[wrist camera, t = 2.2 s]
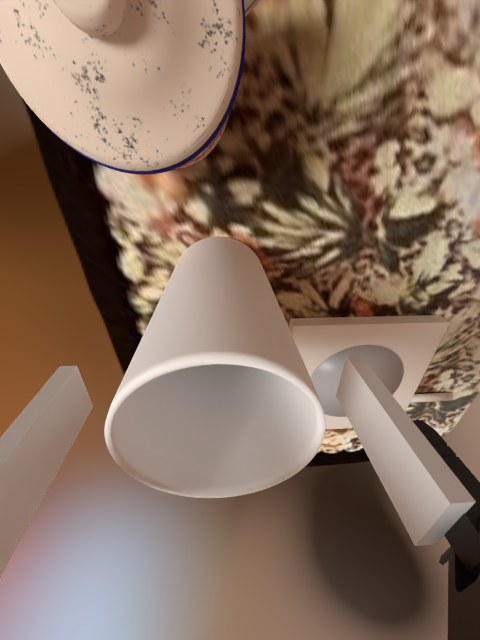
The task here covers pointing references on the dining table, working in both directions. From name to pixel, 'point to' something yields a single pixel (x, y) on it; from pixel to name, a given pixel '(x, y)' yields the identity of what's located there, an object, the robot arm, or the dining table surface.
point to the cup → (216, 384)
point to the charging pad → (369, 355)
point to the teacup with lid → (128, 74)
